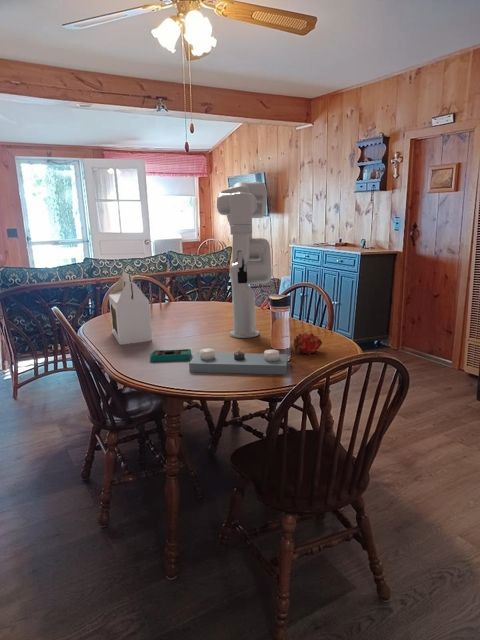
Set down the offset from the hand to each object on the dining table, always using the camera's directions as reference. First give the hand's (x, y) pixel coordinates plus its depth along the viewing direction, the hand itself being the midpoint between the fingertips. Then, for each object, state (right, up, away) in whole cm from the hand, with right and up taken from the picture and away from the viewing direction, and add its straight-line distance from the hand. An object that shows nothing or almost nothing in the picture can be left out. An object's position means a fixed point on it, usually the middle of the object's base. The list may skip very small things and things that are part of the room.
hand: (242, 282), depth 160 cm
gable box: (-48, -21, +37) cm, 64 cm away
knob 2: (+10, -29, -7) cm, 31 cm away
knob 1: (-12, -29, -4) cm, 31 cm away
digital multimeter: (-26, -28, +6) cm, 39 cm away
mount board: (-1, -29, -5) cm, 30 cm away
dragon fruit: (+24, -25, +9) cm, 36 cm away
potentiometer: (-1, -26, -6) cm, 27 cm away
